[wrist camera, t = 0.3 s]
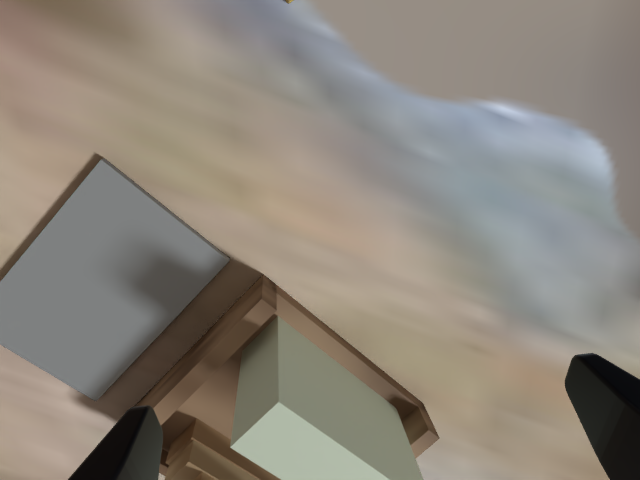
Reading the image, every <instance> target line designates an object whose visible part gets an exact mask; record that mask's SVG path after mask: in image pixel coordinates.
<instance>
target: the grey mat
mask: <svg viewBox="0 0 640 480" xmlns="http://www.w3.org/2000/svg"><path fill="white" fill-rule="evenodd" d="M229 260H230V258H229V257H227V256H226V255H225V254H224V253H222V252H221V251H220V250H219V249H217V248H216V247H215V246H214V245H212V244H211V243H210V242H209V241H207V240H206V239H205V238H204V237H202V236H201V235H200V234H199V233H197V232H196V231H195V230H194V229H192V228H191V227H190V226H189V225H187V224H186V223H185V222H184V221H182V220H181V219H180V218H179V217H177V216H176V215H175V214H173V213H172V212H171V211H170V210H168V209H167V208H166V207H165V206H163V205H162V204H161V203H160V202H158V201H157V200H156V199H155V198H153V197H152V196H151V195H150V194H148V193H147V192H146V191H145V190H143V189H142V188H141V187H140V186H138V185H137V184H136V183H135V182H133V181H132V180H131V179H130V178H128V177H127V176H126V175H125V174H123V173H122V172H121V171H120V170H118V169H117V168H116V167H115V166H113V165H112V164H111V163H110V162H108V161H107V160H106V159H105V158H103V159H101V160H100V161H99V163H98V164H97V165H96V166H95V167H94V169H93V170H92V171H91V172H90V173H89V175H88V176H87V177H86V178H85V180H84V181H83V182H82V183H81V184H80V186H79V187H78V188H77V189H76V190H75V192H74V193H73V194H72V195H71V197H70V198H69V199H68V200H67V201H66V203H65V204H64V205H63V206H62V207H61V209H60V210H59V211H58V212H57V214H56V215H55V216H54V217H53V218H52V220H51V221H50V222H49V223H48V224H47V226H46V227H45V228H44V229H43V231H42V232H41V233H40V234H39V235H38V237H37V238H36V239H35V240H34V241H33V243H32V244H31V245H30V246H29V248H28V249H27V250H26V251H25V252H24V254H23V255H22V256H21V257H20V258H19V260H18V261H17V262H16V263H15V265H14V266H13V267H12V268H11V269H10V271H9V272H8V273H7V274H6V275H5V277H4V278H3V279H2V280H1V282H0V345H2V346H4V347H5V348H7V349H9V350H10V351H12V352H14V353H15V354H17V355H19V356H20V357H22V358H24V359H25V360H27V361H29V362H30V363H32V364H34V365H36V366H37V367H39V368H41V369H42V370H44V371H46V372H47V373H49V374H51V375H52V376H54V377H56V378H57V379H59V380H61V381H62V382H64V383H66V384H67V385H69V386H71V387H72V388H74V389H76V390H77V391H79V392H81V393H82V394H84V395H86V396H87V397H89V398H91V399H92V400H94V401H97V400H98V399H99V398H100V397H101V396H102V395H103V394H104V393H105V392H106V391H107V389H108V388H109V387H110V386H111V385H112V384H113V383H114V382H115V381H116V380H117V379H118V378H119V377H120V376H121V375H122V374H123V373H124V372H125V370H126V369H127V368H128V367H129V366H130V365H131V364H132V363H133V362H134V361H135V360H136V359H137V358H138V357H139V356H140V355H141V354H142V353H143V351H144V350H145V349H146V348H147V347H148V346H149V345H150V344H151V343H152V342H153V341H154V340H155V339H156V338H157V337H158V336H159V335H160V334H161V333H162V331H163V330H164V329H165V328H166V327H167V326H168V325H169V324H170V323H171V322H172V321H173V320H174V319H175V318H176V317H177V316H178V315H179V314H180V312H181V311H182V310H183V309H184V308H185V307H186V306H187V305H188V304H189V303H190V302H191V301H192V300H193V299H194V298H195V297H196V296H197V295H198V293H199V292H200V291H201V290H202V289H203V288H204V287H205V286H206V285H207V284H208V283H209V282H210V281H211V280H212V279H213V278H214V277H215V276H216V275H217V273H218V272H219V271H220V270H221V269H222V268H223V267H224V266H225V265H226V264H227V263H228V262H229Z"/></svg>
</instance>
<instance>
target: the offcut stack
mask: <svg viewBox="0 0 640 480" xmlns="http://www.w3.org/2000/svg"><path fill="white" fill-rule="evenodd" d="M230 444H231V440H230V439H229V438H227V437H226V436H224V435H223V434H221V433H219V432H218V431H216V430H215V429H213V428H212V427H210V426H208V425H207V424H205V423H204V422H202V421H201V420H199V419H197V418H196V419H195V420H194V421H193V422H192V423H191V424H190V425H189V426H188V427H187V428H186V429H185V430H184V431H183V432H182V433H181V434H180V435H179V436H178V437H177V438H176V439H175V440H174V441H173V442H172V443H171V446H170V449H169V453H168V456H167V459H166V464H168V465H169V467H168V470H167V474H166V477H165V480H281V479H279V478H278V477H276V476H275V475H273V474H271V473H270V472H268V471H267V470H265V469H263V468H262V467H260V466H259V465H257V464H255V463H254V462H252V461H251V460H249V459H248V458H246V457H244V456H243V455H241V454H240V453H238V452H236V451H235V450H233V449H232V448H230Z"/></svg>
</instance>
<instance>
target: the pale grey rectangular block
mask: <svg viewBox="0 0 640 480" xmlns="http://www.w3.org/2000/svg"><path fill="white" fill-rule="evenodd" d="M230 448H232V449H233V450H235V451H236V452H238V453H240V454H241V455H243V456H244V457H246V458H248V459H249V460H251V461H252V462H254V463H255V464H257V465H259V466H260V467H262V468H263V469H265V470H267V471H268V472H270V473H271V474H273V475H275V476H276V477H278V478H279V479H281V480H423V477H422V475H421V472H420V469H419V467H418V464H417V462H416V459H415V456H414V454H413V451H412V448H411V446H410V443H409V440H408V438H407V435H406V433H405V430H404V427H403V425H402V422H401V419H400V417H399V414H398V412H397V409H396V408H395V407H394V406H393V405H392V404H390V403H389V402H388V401H386V400H385V399H384V398H383V397H381V396H380V395H379V394H377V393H376V392H375V391H374V390H372V389H371V388H370V387H369V386H367V385H366V384H365V383H363V382H362V381H361V380H360V379H358V378H357V377H356V376H354V375H353V374H352V373H351V372H349V371H348V370H347V369H345V368H344V367H343V366H342V365H340V364H339V363H338V362H336V361H335V360H334V359H333V358H331V357H330V356H329V355H328V354H326V353H325V352H324V351H322V350H321V349H320V348H319V347H317V346H316V345H315V344H313V343H312V342H311V341H310V340H308V339H307V338H306V337H304V336H303V335H302V334H301V333H299V332H298V331H297V330H295V329H294V328H293V327H292V326H290V325H289V324H288V323H287V322H285V321H284V320H283V319H281V318H280V317H279V316H277V317H276V318H275V319H274V320H273V321H272V322H271V323H270V324H269V325H268V326H267V327H266V328H265V329H264V330H263V331H262V332H261V333H260V334H259V335H258V336H257V337H256V338H255V339H254V340H253V341H252V342H251V343H250V344H249V345H248V346H247V347H246V348H245V349H244V350H243V351H242V358H241V365H240V373H239V381H238V389H237V397H236V405H235V412H234V420H233V428H232V436H231V444H230Z"/></svg>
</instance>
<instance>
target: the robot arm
mask: <svg viewBox="0 0 640 480" xmlns="http://www.w3.org/2000/svg"><path fill="white" fill-rule="evenodd" d="M565 388H566V391H567V394H568V396H569V398H570V400H571V402H572V404H573V407H574V409H575V411H576V413H577V415H578V417H579V419H580V422H581V424H582V426H583V428H584V430H585V432H586V434H587V436H588V439H589V441H590V443H591V445H592V447H593V449H594V451H595V453H596V455H597V457H598V459H599V461H600V463H601V465H602V467H603V468H604V470H605V472H606V474H607V475H608V477H609V479H610V480H640V379H638V378H636V377H635V376H633V375H631V374H629V373H628V372H626V371H624V370H623V369H621V368H619V367H618V366H616V365H614V364H613V363H611V362H609V361H607V360H606V359H604V358H602V357H601V356H599V355H597V354H593V353H588V354H579V355H575V356H574V357H573V358H572V360H571V363H570V366H569V369H568V372H567V375H566V378H565ZM162 443H163V431H162V428H161V425H160V423H159V421H158V418H157V416H156V414H155V411H154V409H153V407H151V406H150V405H144V406H136V407H132V408H130V409H129V410H128V411H127V412H126V413H125V414H124V415H123V416H122V417H121V419H120V420H119V421H118V422H117V423H116V424H115V426H114V427H113V428H112V429H111V430H110V431H109V433H108V434H107V435H106V436H105V437H104V438H103V439H102V441H101V442H100V443H99V444H98V445H97V446H96V448H95V449H94V450H93V451H92V452H91V453H90V455H89V456H88V457H87V458H86V459H85V460H84V462H83V463H82V464H81V465H80V466H79V467H78V468H77V470H76V471H75V472H74V473H73V474H72V475H71V477H70V478H69V479H68V480H158V476H159V468H160V460H161V451H162Z"/></svg>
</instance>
